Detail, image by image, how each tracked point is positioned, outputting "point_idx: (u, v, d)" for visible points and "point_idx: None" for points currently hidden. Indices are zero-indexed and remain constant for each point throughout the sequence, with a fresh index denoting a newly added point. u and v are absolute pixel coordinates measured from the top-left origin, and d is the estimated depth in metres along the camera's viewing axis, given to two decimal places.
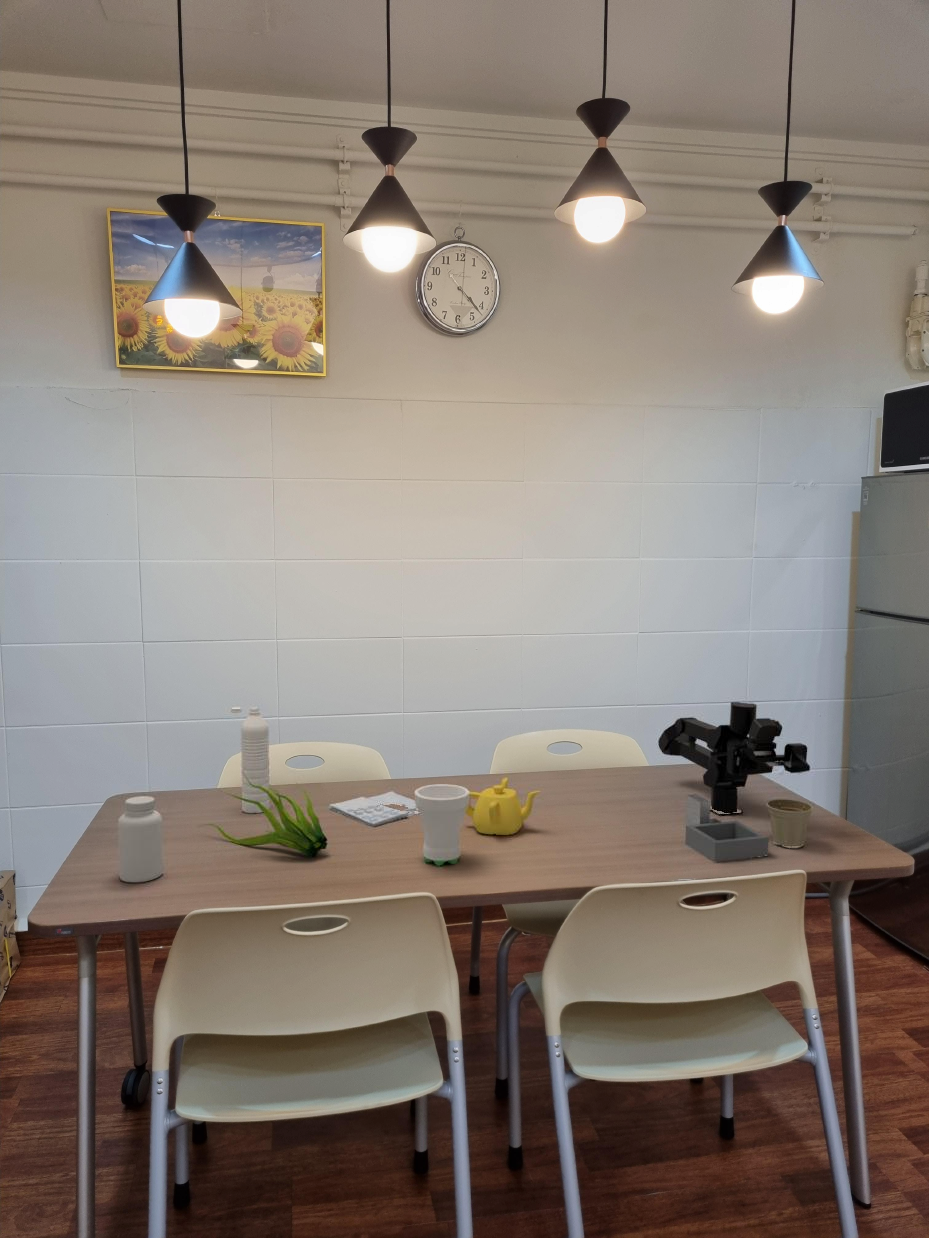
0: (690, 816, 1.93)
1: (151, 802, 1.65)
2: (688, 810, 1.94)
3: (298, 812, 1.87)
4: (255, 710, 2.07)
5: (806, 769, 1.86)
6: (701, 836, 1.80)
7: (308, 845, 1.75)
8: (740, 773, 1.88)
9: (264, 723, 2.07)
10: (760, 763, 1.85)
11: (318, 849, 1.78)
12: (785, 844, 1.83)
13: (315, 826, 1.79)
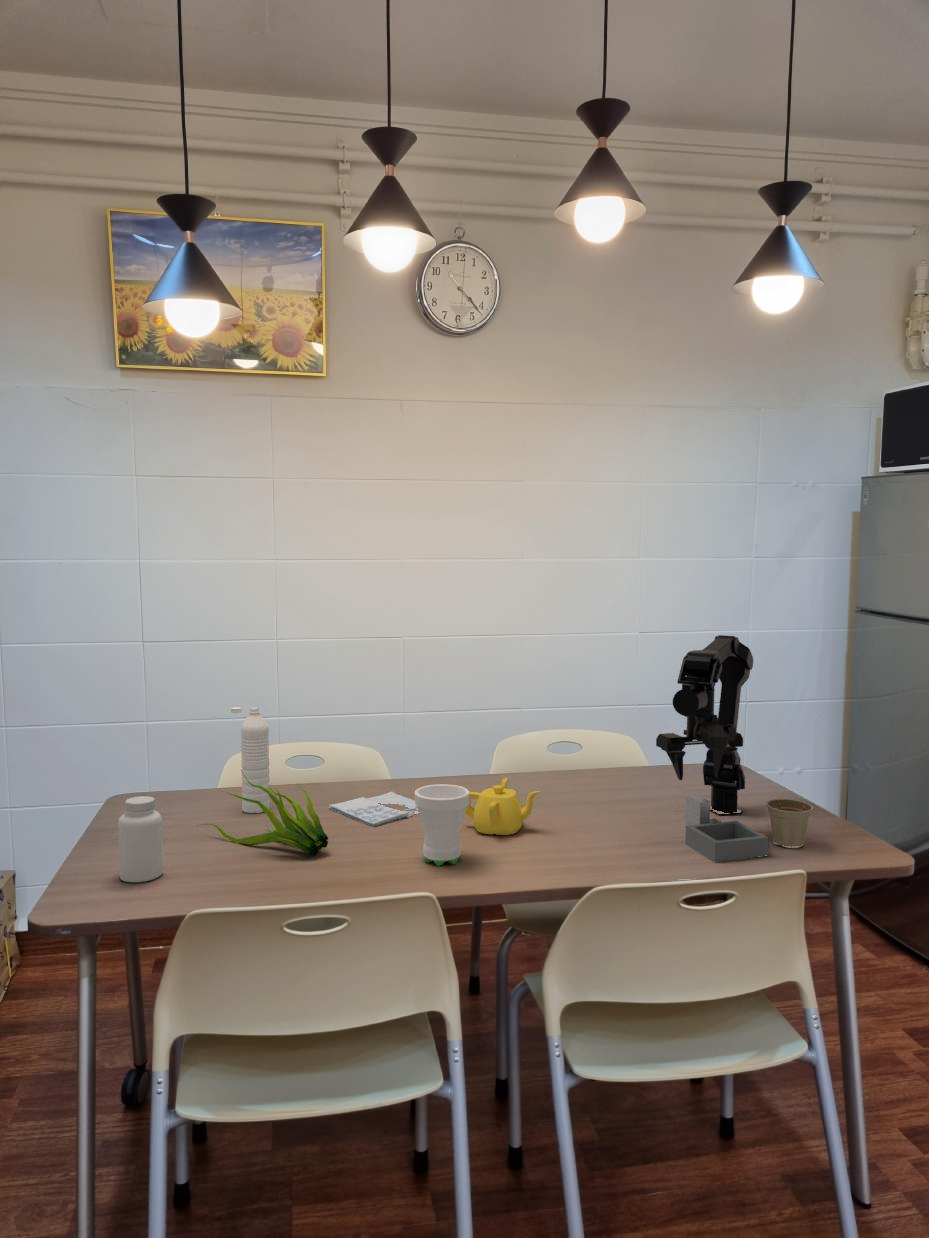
0: (690, 816, 1.93)
1: (151, 802, 1.65)
2: (688, 810, 1.94)
3: (298, 811, 1.87)
4: (255, 710, 2.07)
5: (715, 774, 1.94)
6: (701, 836, 1.80)
7: (309, 844, 1.76)
8: None
9: (264, 723, 2.07)
10: (678, 769, 1.90)
11: (319, 847, 1.79)
12: (785, 844, 1.83)
13: (316, 825, 1.80)
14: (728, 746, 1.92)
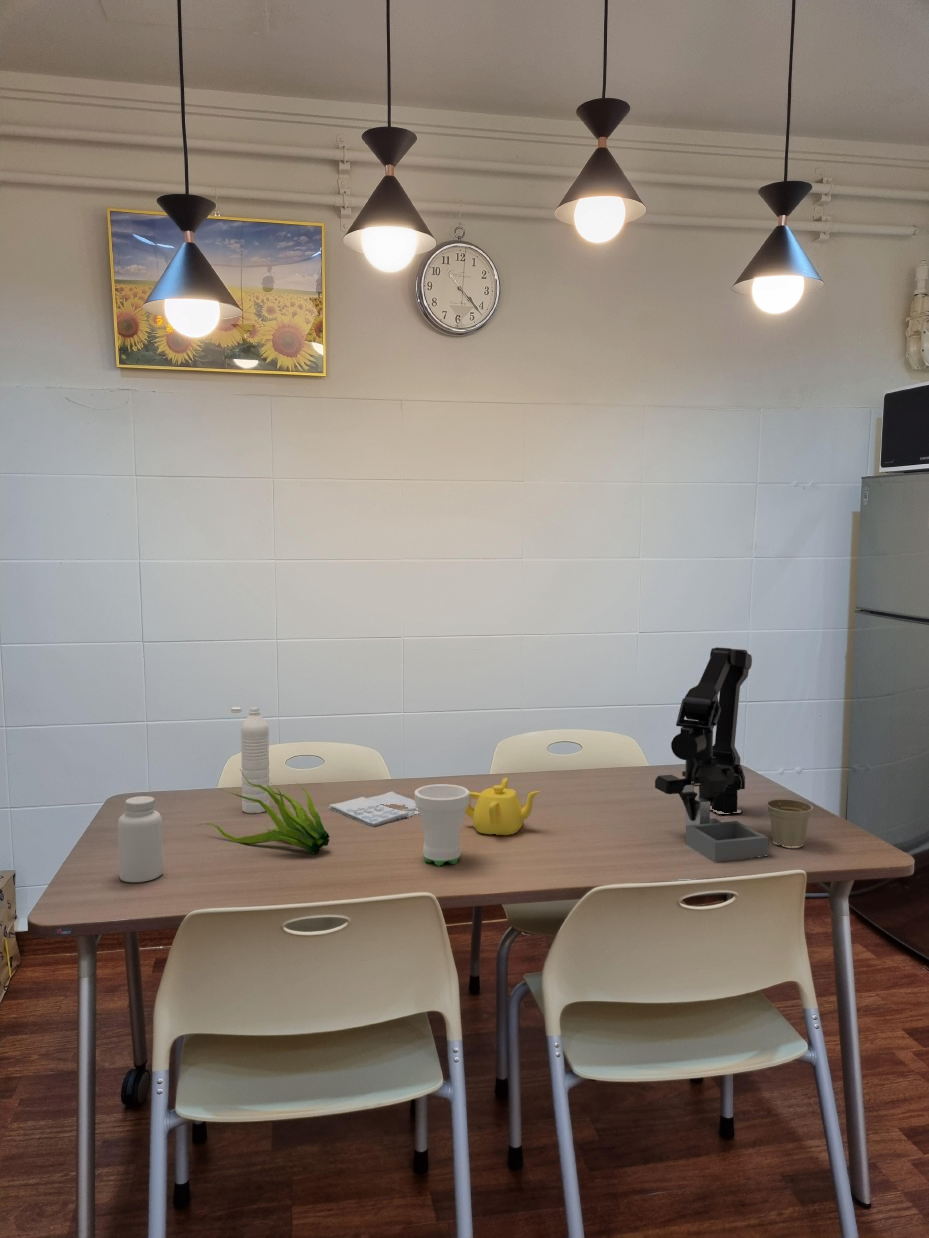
0: None
1: (151, 802, 1.65)
2: None
3: (298, 810, 1.88)
4: (255, 710, 2.07)
5: None
6: (701, 836, 1.80)
7: (311, 842, 1.77)
8: None
9: (264, 723, 2.07)
10: (690, 810, 1.91)
11: (320, 846, 1.80)
12: (785, 844, 1.83)
13: (317, 823, 1.81)
14: None
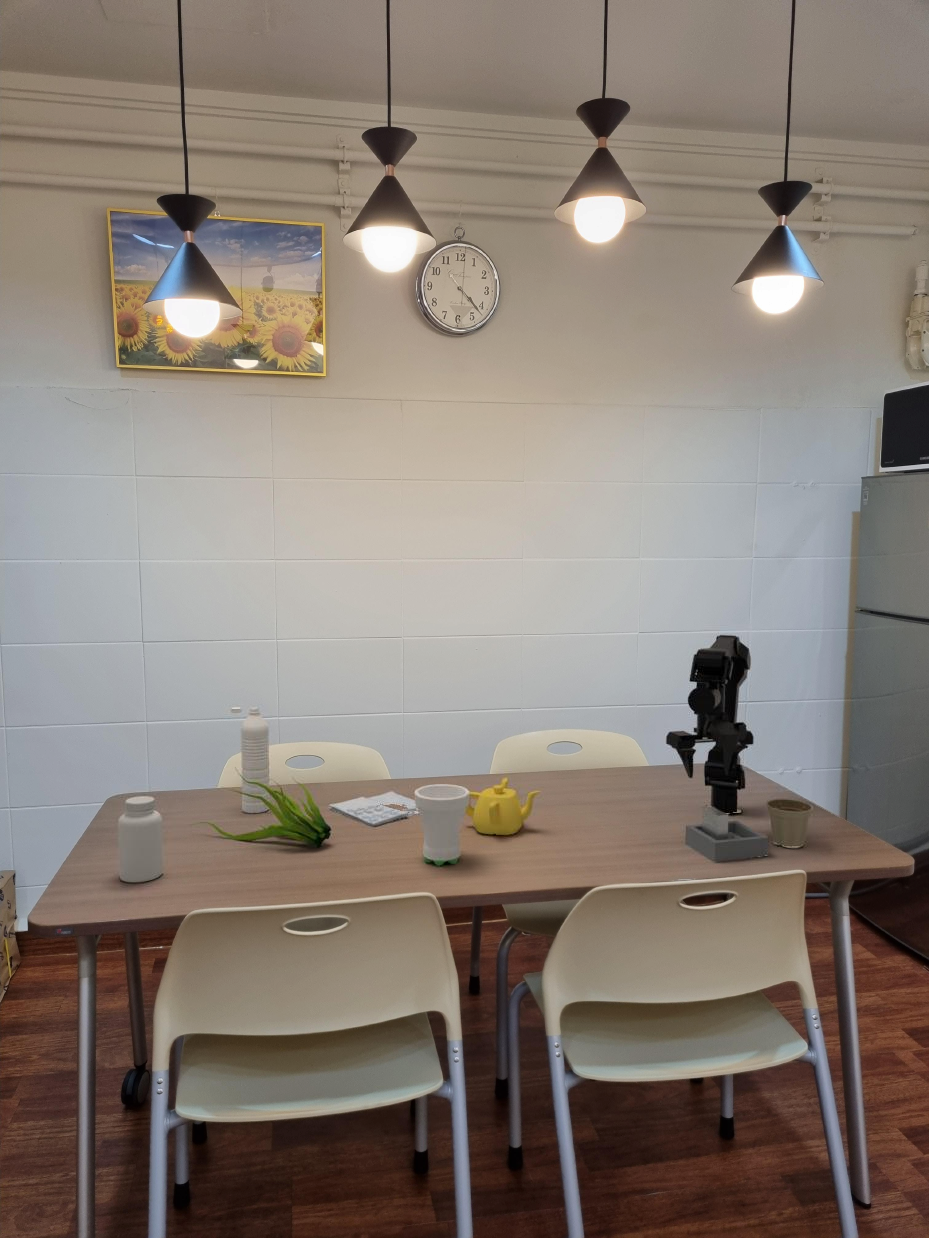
0: (707, 830, 1.82)
1: (151, 802, 1.65)
2: (704, 823, 1.83)
3: (295, 805, 1.91)
4: (255, 710, 2.07)
5: (725, 772, 1.93)
6: (701, 836, 1.80)
7: (315, 835, 1.81)
8: None
9: (264, 723, 2.07)
10: (688, 767, 1.89)
11: (322, 839, 1.84)
12: (785, 844, 1.83)
13: (318, 817, 1.85)
14: (738, 744, 1.91)
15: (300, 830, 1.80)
